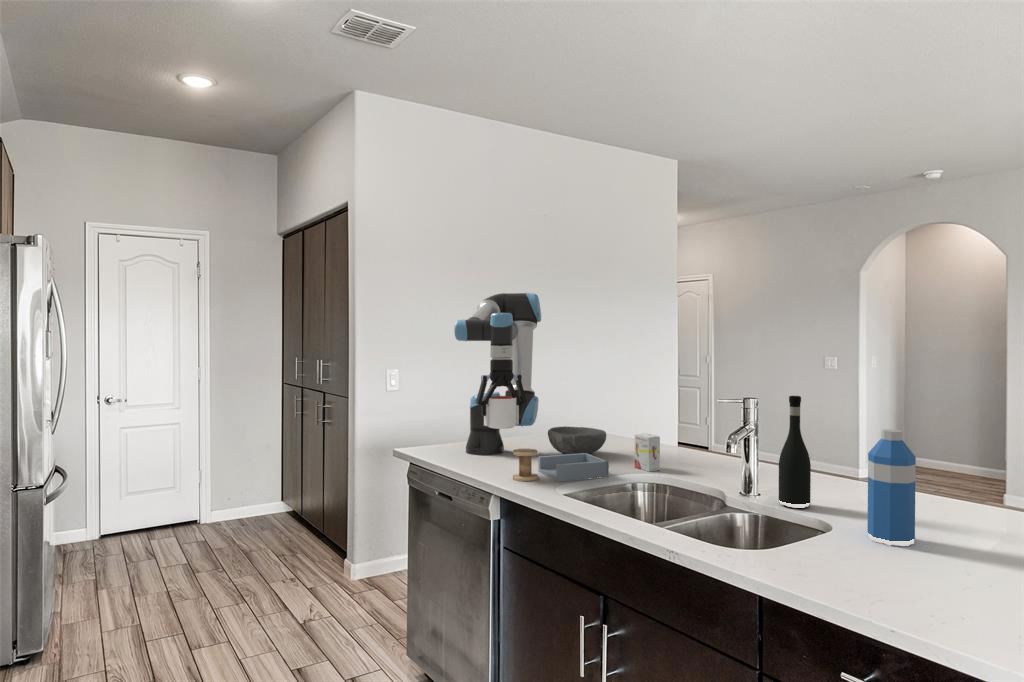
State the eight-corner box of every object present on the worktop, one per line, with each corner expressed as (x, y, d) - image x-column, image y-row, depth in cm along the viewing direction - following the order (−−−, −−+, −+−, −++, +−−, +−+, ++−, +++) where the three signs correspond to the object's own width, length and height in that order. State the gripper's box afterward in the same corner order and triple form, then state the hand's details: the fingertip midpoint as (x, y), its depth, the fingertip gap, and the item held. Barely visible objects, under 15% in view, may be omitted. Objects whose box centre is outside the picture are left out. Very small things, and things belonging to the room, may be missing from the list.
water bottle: (914, 549, 143) (915, 435, 143) (865, 542, 148) (866, 431, 148) (915, 538, 151) (916, 429, 151) (868, 531, 156) (869, 426, 156)
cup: (517, 425, 226) (517, 396, 226) (514, 429, 216) (514, 399, 216) (488, 425, 227) (488, 396, 227) (484, 429, 217) (484, 398, 217)
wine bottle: (786, 500, 185) (786, 394, 184) (815, 505, 179) (815, 396, 179) (773, 505, 179) (774, 395, 179) (803, 511, 174) (803, 398, 173)
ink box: (633, 467, 230) (633, 433, 230) (645, 466, 233) (645, 432, 232) (648, 472, 223) (648, 437, 222) (660, 470, 225) (660, 436, 225)
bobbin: (509, 476, 215) (509, 449, 215) (531, 475, 218) (532, 447, 218) (518, 482, 207) (518, 453, 207) (541, 480, 210) (541, 452, 210)
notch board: (538, 471, 223) (538, 456, 223) (585, 467, 229) (585, 453, 229) (558, 481, 208) (558, 465, 208) (608, 477, 214) (608, 461, 214)
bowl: (610, 460, 242) (610, 433, 242) (548, 460, 242) (548, 433, 242) (602, 449, 265) (602, 425, 265) (546, 449, 265) (546, 424, 265)
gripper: (472, 359, 214) (472, 427, 214) (536, 358, 222) (536, 424, 222) (466, 358, 221) (465, 425, 221) (528, 358, 229) (528, 422, 229)
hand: (501, 424), depth 221 cm, fingers closed on cup, 10 cm apart
